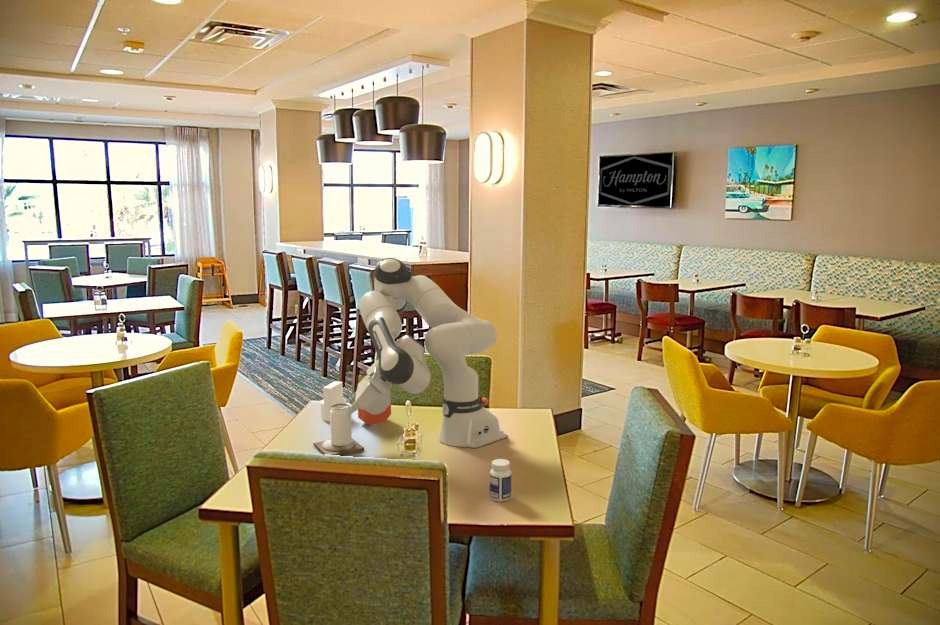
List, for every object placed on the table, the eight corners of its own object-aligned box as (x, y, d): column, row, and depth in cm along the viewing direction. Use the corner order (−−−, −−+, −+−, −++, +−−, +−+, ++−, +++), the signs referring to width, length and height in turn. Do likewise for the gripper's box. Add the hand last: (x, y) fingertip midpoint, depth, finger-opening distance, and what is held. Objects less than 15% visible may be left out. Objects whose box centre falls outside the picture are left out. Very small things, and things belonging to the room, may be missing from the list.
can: (348, 447, 209) (348, 410, 207) (328, 446, 210) (327, 409, 208) (354, 439, 216) (353, 403, 214) (334, 438, 216) (333, 402, 214)
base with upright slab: (329, 412, 248) (328, 380, 246) (351, 414, 245) (350, 382, 243) (316, 419, 239) (315, 386, 237) (338, 422, 236) (338, 389, 234)
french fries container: (391, 421, 238) (391, 371, 235) (365, 427, 231) (364, 376, 228) (384, 417, 242) (383, 368, 239) (358, 424, 235) (357, 373, 232)
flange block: (348, 439, 221) (348, 434, 221) (364, 450, 211) (364, 445, 211) (313, 446, 214) (313, 441, 214) (327, 458, 205) (327, 453, 204)
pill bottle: (510, 492, 183) (510, 457, 181) (512, 502, 177) (512, 466, 175) (488, 493, 182) (489, 457, 181) (490, 502, 177) (490, 466, 175)
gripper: (373, 361, 219) (344, 391, 220) (372, 378, 199) (339, 411, 200) (388, 374, 221) (358, 404, 221) (387, 392, 201) (355, 425, 201)
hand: (349, 408), depth 210 cm, fingers open, 8 cm apart
